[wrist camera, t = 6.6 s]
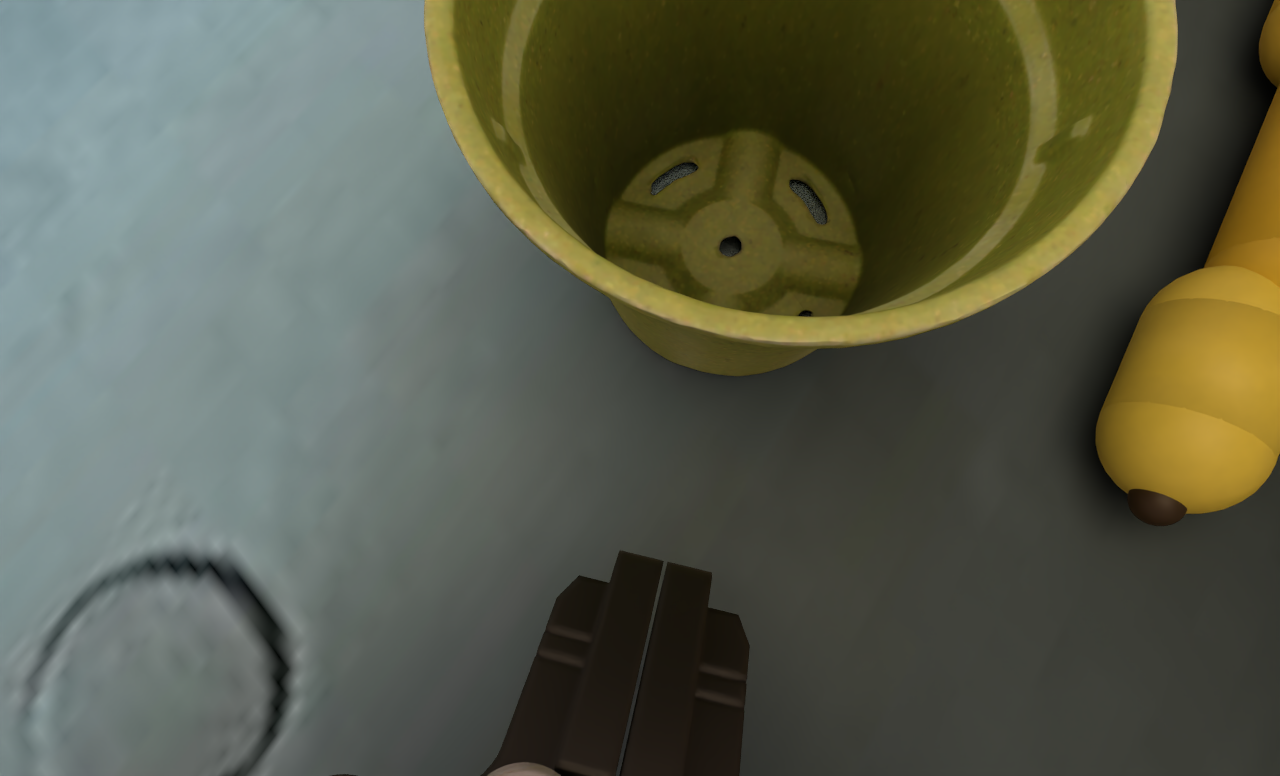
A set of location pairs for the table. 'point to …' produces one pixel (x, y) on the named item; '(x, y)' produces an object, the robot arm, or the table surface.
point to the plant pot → (803, 153)
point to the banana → (1208, 356)
